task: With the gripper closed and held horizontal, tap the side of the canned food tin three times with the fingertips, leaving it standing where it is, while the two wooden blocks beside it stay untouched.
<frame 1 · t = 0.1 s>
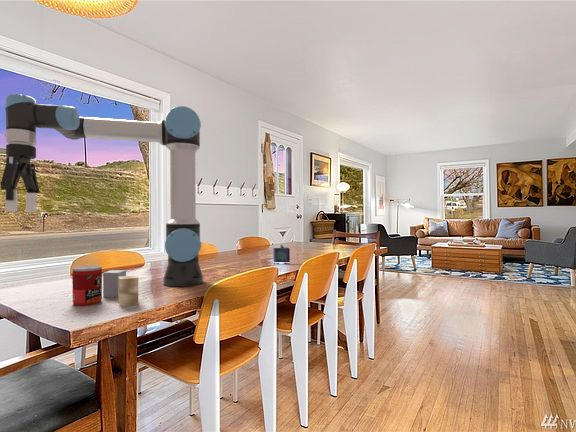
hand: (21, 212, 108), 28 cm above the table, tool pointing down, fingers open, 13 cm apart
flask: (281, 264, 190), on the table
beech block: (128, 303, 104), on the table
canned food: (87, 303, 104), on the table
slate-blue painted block: (114, 295, 115), on the table
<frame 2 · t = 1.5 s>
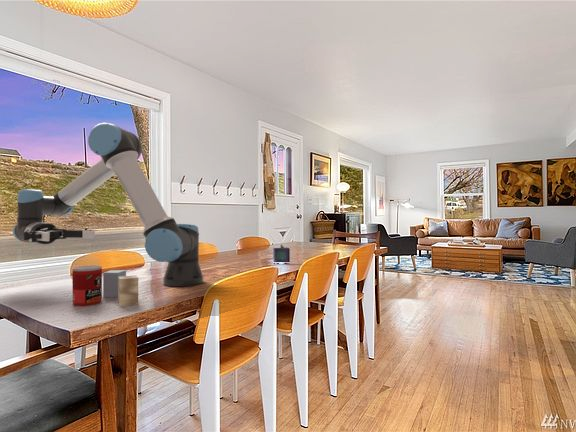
hand: (72, 235, 109), 20 cm above the table, tool horizontal, fingers open, 13 cm apart
nothing on the table moved.
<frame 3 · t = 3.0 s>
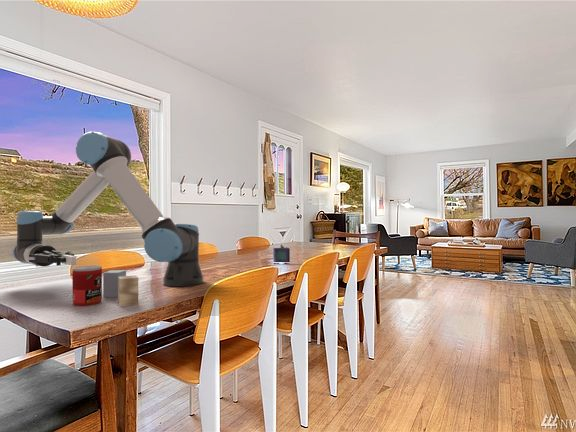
hand: (73, 260, 108), 12 cm above the table, tool horizontal, fingers closed
nothing on the table moved.
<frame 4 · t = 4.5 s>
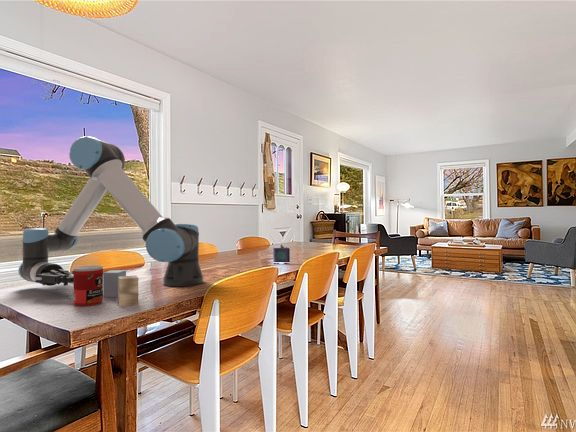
hand: (81, 280, 106), 6 cm above the table, tool horizontal, fingers closed
canned food: (88, 303, 104), on the table, touching gripper
everything else where it was.
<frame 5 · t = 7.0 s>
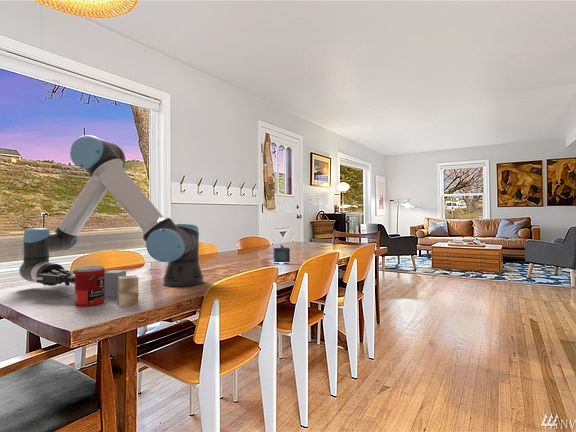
hand: (82, 280, 106), 7 cm above the table, tool horizontal, fingers closed
canned food: (90, 304, 103), on the table
everything else where it was.
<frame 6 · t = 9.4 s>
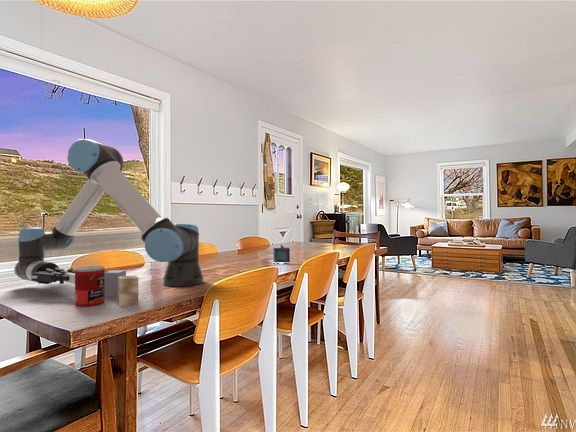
hand: (77, 279, 108), 7 cm above the table, tool horizontal, fingers closed
nothing on the table moved.
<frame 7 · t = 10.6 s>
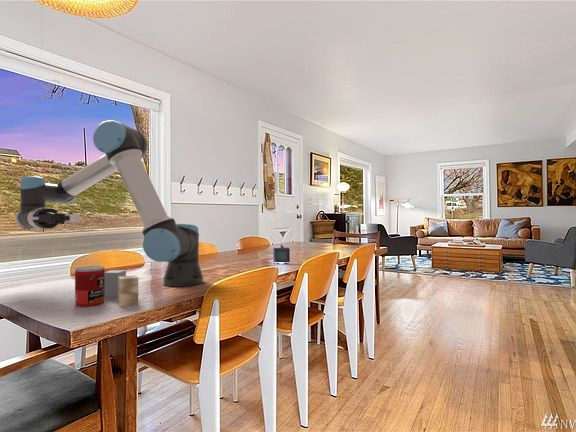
hand: (77, 218, 110), 26 cm above the table, tool horizontal, fingers closed
nothing on the table moved.
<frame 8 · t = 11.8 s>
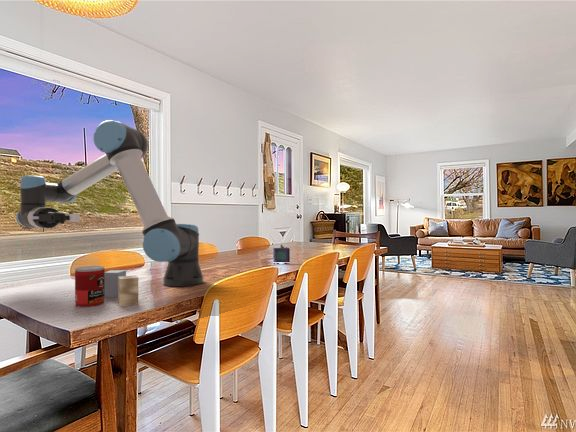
hand: (77, 217, 110), 26 cm above the table, tool horizontal, fingers closed
nothing on the table moved.
at the end: canned food moved 1.5 cm from its start; canned food tilted 0°; canned food touching table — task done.
